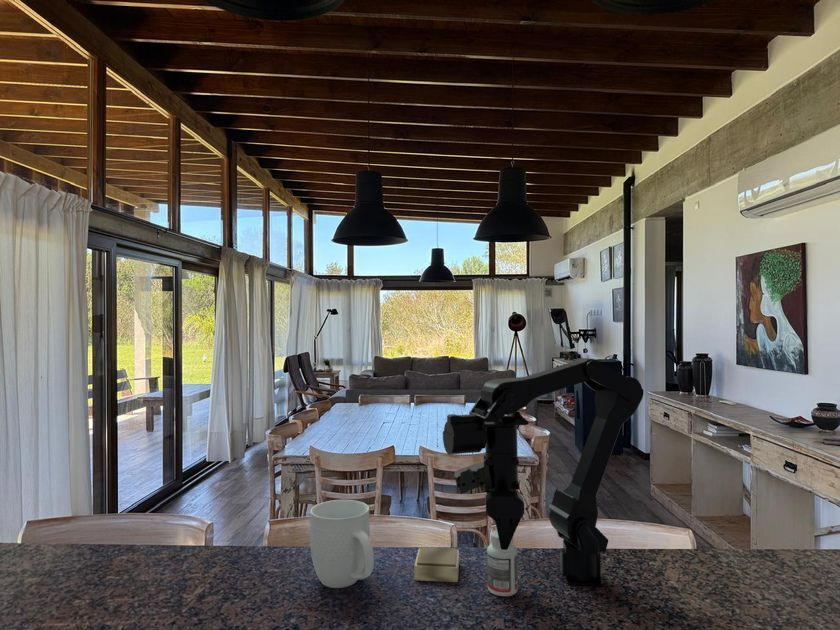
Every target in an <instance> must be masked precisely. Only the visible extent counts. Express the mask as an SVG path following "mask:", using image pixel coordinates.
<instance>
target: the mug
mask: <svg viewBox="0 0 840 630" xmlns="http://www.w3.org/2000/svg"><path fill="white" fill-rule="evenodd" d="M370 521H371V520H370V506H369V505H368V504H366V503H365V502H363V501H358V500H356V499H355V500H354V499H333V500H328V501H327V500H326V501H323V502H321V503H320V502H319V503H317V504H315V505H314V506H312V507H311V508H310V511H309V545H310V546H309V547H310V553H311V561H312V564H313V568H314V572H315V574H316V576H317V577H318V580H319V581H320V583H321V584H322V585H324V586H325V587H327V588H330V589H331V588H332V589H342V588H348V587H350V586H352V585H354V584H355V583H357V582H358V580H364V579H367V578H368V577H369V576H371V574H372V572H373V570H374V565H375V564H374V563H375V555H374V548H373V544H372V541H371V540H370V536H371V535H370V533H371V531H370V528H371V527H370V525H371V524H370V523H371V522H370Z"/></svg>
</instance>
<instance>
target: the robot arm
mask: <svg viewBox="0 0 840 630" xmlns="http://www.w3.org/2000/svg"><path fill="white" fill-rule="evenodd" d="M581 383H584V384H585V385H586V386H587V388H589V389H591V390H593V391H595V395H594V406H595V407H594V408H595V417H594V420H593V423H592V425H591V428H590V431H589V433H588V437H587V439H586V442H585V444H584V446H583V450H582V451H581V455H580V458H579V460H578V462H577V465H576V468H575V471H574V475H573V476H572V480H571V482H570V484H569V485H568V486H567V487H566V488H565V489H564V490H560V489H558V488H556V489H555V490H554V494H553V499H552V501H551V503H550V505H548V507H547V510H549V514H548V520H549V521H550V523H551V526H552V528H553V529H554V530H556V533H557V536H558V538H560V539H562V548H560V549H559V561H560V562H559V563H560V564H559V565H560V567H559V568H560V572H561V575H562V577H564V579H565V582H566V584H567V585H572V586H573V585H576V586H592V587H593V586H595V587H596V586H597V587H598V586H599V587H603V586H604V585H605V583H604V581H603V579H602V575H601V573H602V570H601V569H602V568H601V567H602V560H601V554H602V553H603V552H606V551H607V547H608V545H609V539H608V538H607V537H606V536H605V535H604V534H603V532H601V531H600V530H599V529H598V528H597V523H598V517H599V511H598V502H597V496H598V495H597V494H598V492H599V489H600V486H601V484H602V481H603V478H604V475H605V472H606V470H607V466H608V464H609V461H610V458H611V456H612V453H613V451H614V447H615V444H616V442H617V439H618V436H619V434H620V430H621V428H622V426H623V425H624V423H625V422H627V421H628V420H629V419H630V418H631V417H632V416H634V414H635V413H636V411H637V410H638V408H639V406H640V405H641V402H642V400H643V398H644V392H645V391H644V389H643V387H642V385H641V383H640V381H639V379H637V378H636V377H632V376H627V375H624V374H623V373H620V372H619V371H616V370H614V369H612V368H610V367H608V366H606V365H605V364H603V363H601V362H600V361H598V360H597V359H596V358H595V359H594V358H588V357H587V358H584V357H580V358H577V359H576V360H574V361H570V362H568V363H563V364H561V365H558V366H555V367H552V368H549V369H545V370H542V371H539V372H536V373H532V374H530V375H527V376H519V377H518V376H517V377H506V378H505V377H504V378H495V379H490V380H487V381H486V382H485V383H483V385H482V388H481V390H480V396H479V397H478V399H477V400H476V402H475V404H474V405H473V407H472V408H471V409H470V411H469V413H468V414H454V413H453V414H452V413H451V414H447V415H446V422H445V424H444V429H443V431H442V443H443V448H444V451H445V452H446V454H448V455H460V454H473V453H481V452H482V450H483V449H484V450H485V452H484V454H483V461H481V462H478V463H477V462H476V463H474V464H471V465H468V466H465V467H462V468H459V469H456V471H454V474H453V478H454V481H455V484H456V487H457V488H458V491H459V493H460V495H461V494H462V495H464V494H467V493H468V492H469V491H471V490H474V489H477V488H480V487H482V486H483V488H484V492H485V493H486V494H485V496H484V497H485V499H484V500H485V514H486V515H487V516H488V517H489V518H490V519H492V520H493V521H494V523H495V526H496V530H497V532H498V537H499V542H500V547H501V549H502V550H507V549H508V547H509V545H510V542H511V540H512V538H513V539H514V535H515V533H516V530H517V528H518V526H519V524H520V521H521V519H522V518H523V516H524V515H525V502H524V498H523V496H522V494H520V492H518V491H517V490H520V482H519V469H518V468H519V465H520V461H519V456H518V426H528V425H529V420H527V419H526V418H525V417H523V415H522V414H521V412H520V410H522V409H524V408H525V407H527V406H529V405H530V403H532V401H534V400H535V399H537V398H539V397H542V396H545V395H548V394H551V393H555V392H557V391H560V390H563V389H567V388H570V387H572V386H574V385H575V386H576V385H579V384H581Z"/></svg>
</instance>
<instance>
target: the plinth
mask: <svg viewBox="0 0 840 630" xmlns="http://www.w3.org/2000/svg"><path fill="white" fill-rule="evenodd" d="M459 550H460V549H457V548H455V547H453V548H452V547H451V548H450V547H449V548H448V547H427V546H421V547H419V548H418V550H417V554H416V558H415V562H414V568H413V569H414V571H413V573H414V577H413V578H414V581H421V582H423V581H426V582H445V583H446V582H447V583H449V582H450V583H458V582H459V568H460V567H459V566H460V551H459Z"/></svg>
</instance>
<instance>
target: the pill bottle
mask: <svg viewBox="0 0 840 630" xmlns="http://www.w3.org/2000/svg"><path fill="white" fill-rule="evenodd" d="M486 571H487V573H486V574H487V575H486V577H487V580H486V581H487V584H486V585H487V590H488V591H489V593H491V594H493V595H495V596H499V597H511V596H513V595H515V594H516V593H517V592H518V590H519V588H518V587H519V586H518V585H519V584H518V583H519V581H518V578H519V577H518V576H519V575H518V549H517V547H516V546H515V545H514V537H513V538H512V540H511V542H510V545H509V547H508V549H507V550H502V549H501V547H500V542H499V537H498V532H497V529H496V530H493V531H491V532H490V544H489V545H488V546H487V548H486Z"/></svg>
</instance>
